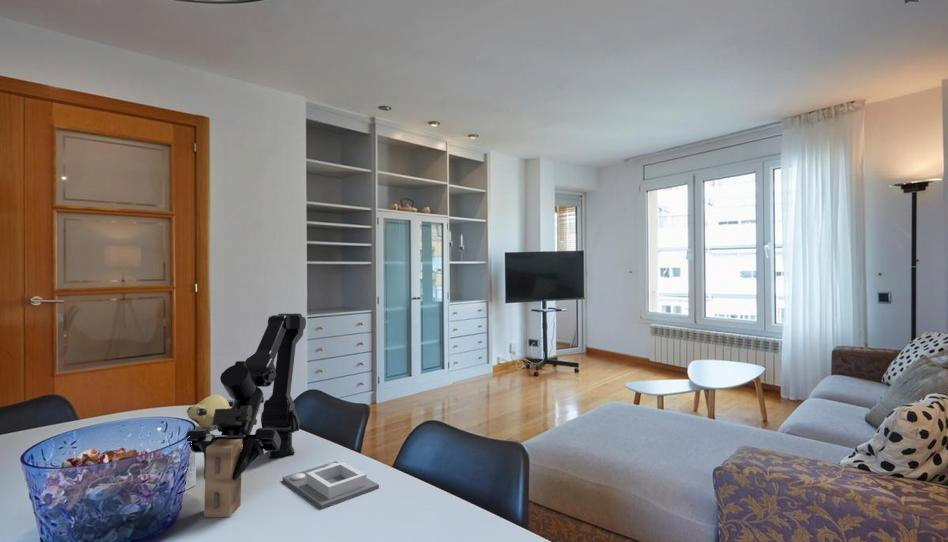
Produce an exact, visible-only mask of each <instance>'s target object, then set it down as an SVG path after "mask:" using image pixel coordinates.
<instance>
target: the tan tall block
mask: <svg viewBox="0 0 948 542" xmlns="http://www.w3.org/2000/svg"><path fill="white" fill-rule="evenodd" d="M242 445H243V444H242V439H218V440H216V441H215V442H214V443H212V444H211V445H209V446H208V447H206V465H205V479H204V503H203V504H204V507H203V509H204V512H203V514H204V515H203V518H230V517H231V516H232V515H233V514H234V513H235V512H236V511H237V510H238V509H239V508H240V506H241V504H242V503H241V501H242V499H241V498H242V474H241V475H240V476H239V477H238V478H237V479H236V480H233V474H234V470H235V467H236V465H237V462H238V460H239V457H240V455H241V452H242Z"/></svg>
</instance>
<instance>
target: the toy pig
mask: <svg viewBox="0 0 948 542" xmlns="http://www.w3.org/2000/svg"><path fill="white" fill-rule="evenodd" d="M228 408H231V407H230V404H229V401H228V400H227V399H226V398H225V397H224V396H222V395H220V394H211V395H208V396H207V397H204V398H203V399H202V400H201V401H199V402H198V403H197V404H192V406H189V407H187V409H186V413H187V417H188V419H190V420H192V421H193V422H195V423H196V424H197V425H198V426H199V427H200V428H203V429H209V431H213V430H215V428H216V426H217V425H212V422H213V417H214V412H215V409H228ZM217 427H218V426H217Z"/></svg>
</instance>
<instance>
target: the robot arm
mask: <svg viewBox="0 0 948 542" xmlns="http://www.w3.org/2000/svg"><path fill="white" fill-rule="evenodd" d="M306 326H307V321H306V317H305V316H303V315H302V313H299V312H298V313H279V314H278V315H277V314H276V315H275V314H273V315H270V316H269V317H268V319H267V326H266V328H265V331H264V333H263V335H262V337H261V339H260V342H259V344H258V346H257V348H256V350H255V353H253V354H252V355H250V356H249V357H247V358H246V359H245V360H237V361H235V363H234V365H231V366H229V367H227V368H226V369H224V371H222V373H221V374H220V380H219V381H220V383H221V384H222V385H223V388H224V389H225V391H226V393H227V394H228V395H229V397H230V398H231V399H233V401H232V402H233V403H232V405H231V407H230V408H228V409H215V412H214V417H213V422H212V425H217V431H218V433H219V432H221V434H213V433H211V432H210V429H209V428H198V429H197V428H195V429H194V428H193V429H189V430H188V431H187V432H186V433H185V435H184V438H185V437H188V436H190V437H189V438H188V439H187V441H192V443H191V442H190V443H189V444H190V447H191V451H192V452H195V453H196V454H198V453H200V454H202V453H203V458H204V459H203V460H204V464H203V465H204V467H203V468H204V469H203V471H204V473H203V474H204V475H203V479H204V480H205V465H206V447H208V446H209V445H211V444H212V443H214V442H215V441H216V440H218V439H242V452H241V455H240V457H239V460H238V462H237V465H236V467H235V470H234V474H233V480H236V479H237V478H238V477H239V476H240V475H241V476H242V474H243V473H244V471H245V470H246V469H247V468H248V467H249V465H250V464H252V463H253V461H255V460H256V459H257V457H259V456H261V455H264V454H265V452H267V455H268V459H272V458H273V459H274V458H279V457H285V455H287V456H291V455H290V454H293V455H295V454H294V453H295V452H296V451H295V450H294V447H293V433H294V434H295V432H298V431H300V424H301V423H300V422H301V421H300V418H299V416H298V413H297V411H296V403H295V402H294V400H293V398H292V396H291V391H292V381H293V372H294V364H295V357H296V356H295V355H296V353H295V352H296V348H297V347H296V346H297V343H298V342H299V341H300V340H301V339H302V337H303V335H304V330H305V328H306ZM275 359H276V361H275ZM272 384H273V386H272V393H271V395H270V397H268V399H266V400H265V398H264V392H263V390H262V389H261V388H267V387H270V386H271V385H272ZM261 404H263V410H262V413H261V415H260V423H261V427H259V428H257V429H255V433H254V434H252V431H253V427H254V426H256V425H257V422H258V420H257V416H258V413H259V410H260V406H261ZM191 444H192V445H191Z"/></svg>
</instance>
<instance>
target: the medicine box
mask: <svg viewBox="0 0 948 542" xmlns="http://www.w3.org/2000/svg"><path fill="white" fill-rule="evenodd" d="M196 455H197V453H195V452H192V451H191V454H190V461H189V467H188V472H187V482H186V489H185V491H184V492H186V491H188V490H190V489H191V488H194V487H195V486H196V485H197V477H196V476H197V475H196V474H197V473H196V471H197V469H196V467H197V463H196V461H197V459H196V458H197V456H196Z"/></svg>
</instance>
